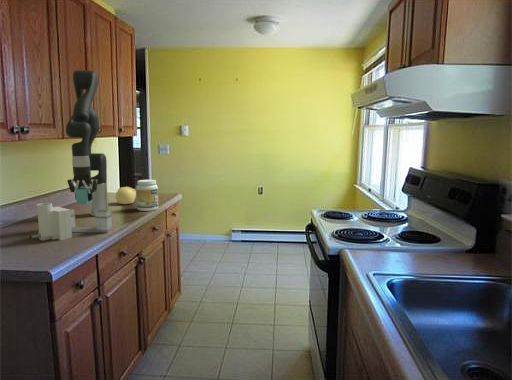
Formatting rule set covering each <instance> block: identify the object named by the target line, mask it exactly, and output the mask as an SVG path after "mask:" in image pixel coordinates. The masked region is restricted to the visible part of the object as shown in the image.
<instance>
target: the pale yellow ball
mask: <svg viewBox="0 0 512 380" xmlns="http://www.w3.org/2000/svg"><path fill="white" fill-rule="evenodd" d="M115 200H116V202H117V204H120V205H128V204H133V203H134V202H135V200H136V188H132V187H130V186H123V187H122V186H121V187H120V188H118V189H117V191H116V193H115Z"/></svg>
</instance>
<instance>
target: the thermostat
mask: <svg viewBox="0 0 512 380" xmlns="http://www.w3.org/2000/svg"><path fill="white" fill-rule="evenodd" d="M36 211H37V220H38V221H37V223H38V231H37V232H38V233H37V234H33V235H29V239H35V238H39V241H47V240H60V241H63V240H68V239H73V232H72V228H71V214H70V210H69V208H64V207H61V206H53V203H52V202H42V203H37V204H36Z"/></svg>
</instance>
